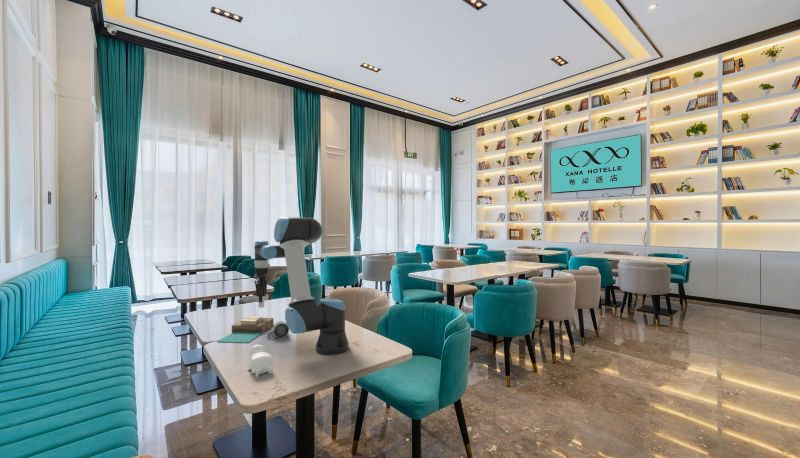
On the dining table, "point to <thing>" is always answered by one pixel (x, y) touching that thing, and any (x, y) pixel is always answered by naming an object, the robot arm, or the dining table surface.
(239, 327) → the walnut riser
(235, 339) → the teal mat
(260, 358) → the white animal figurine
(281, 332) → the ceramic mug
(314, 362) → the dining table surface
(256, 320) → the oak coaster
